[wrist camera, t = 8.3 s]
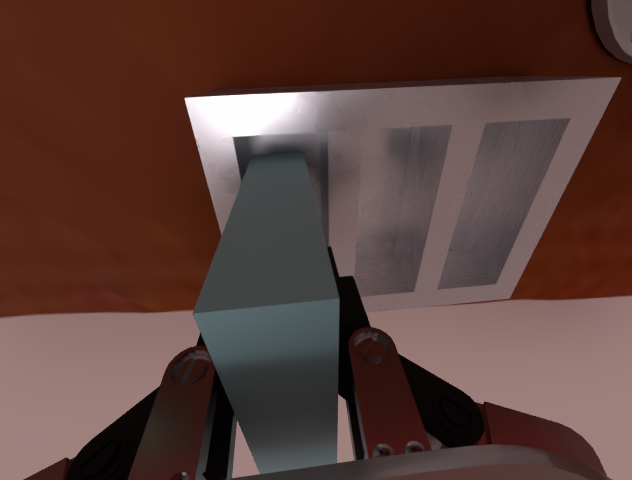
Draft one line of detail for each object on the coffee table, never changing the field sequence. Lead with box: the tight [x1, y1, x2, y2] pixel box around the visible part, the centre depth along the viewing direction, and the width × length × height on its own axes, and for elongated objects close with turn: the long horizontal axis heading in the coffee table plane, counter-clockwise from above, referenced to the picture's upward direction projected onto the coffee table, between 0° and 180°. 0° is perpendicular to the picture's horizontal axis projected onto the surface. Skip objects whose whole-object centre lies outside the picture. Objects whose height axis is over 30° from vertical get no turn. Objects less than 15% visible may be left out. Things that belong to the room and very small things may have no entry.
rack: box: [185, 75, 622, 312], centre depth 16 cm, size 18×13×5 cm
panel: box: [193, 152, 340, 474], centre depth 11 cm, size 2×8×10 cm, turn 2°
